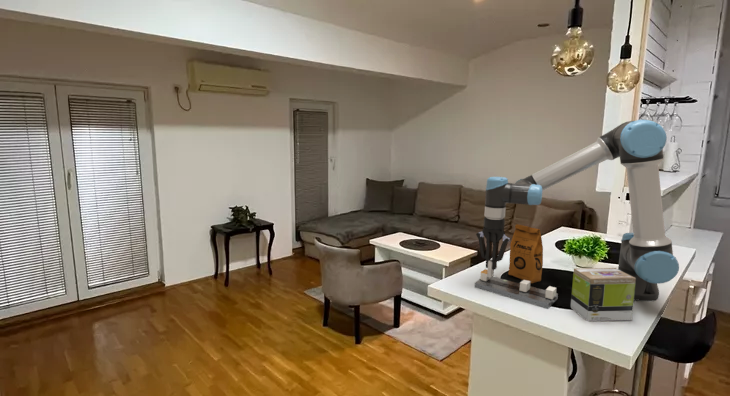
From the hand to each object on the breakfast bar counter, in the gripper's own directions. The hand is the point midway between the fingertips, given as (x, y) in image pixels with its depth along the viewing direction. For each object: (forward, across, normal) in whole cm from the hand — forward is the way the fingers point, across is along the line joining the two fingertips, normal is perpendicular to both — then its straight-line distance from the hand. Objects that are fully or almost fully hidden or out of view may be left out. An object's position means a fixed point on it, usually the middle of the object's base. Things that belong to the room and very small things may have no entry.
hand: (490, 276), depth 151 cm
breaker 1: (+2, +2, 0) cm, 2 cm away
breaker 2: (+2, -13, 0) cm, 13 cm away
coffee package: (+4, -7, -18) cm, 20 cm away
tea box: (+4, -37, -2) cm, 38 cm away
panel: (+4, -10, 0) cm, 11 cm away
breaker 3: (+2, -22, 0) cm, 22 cm away
